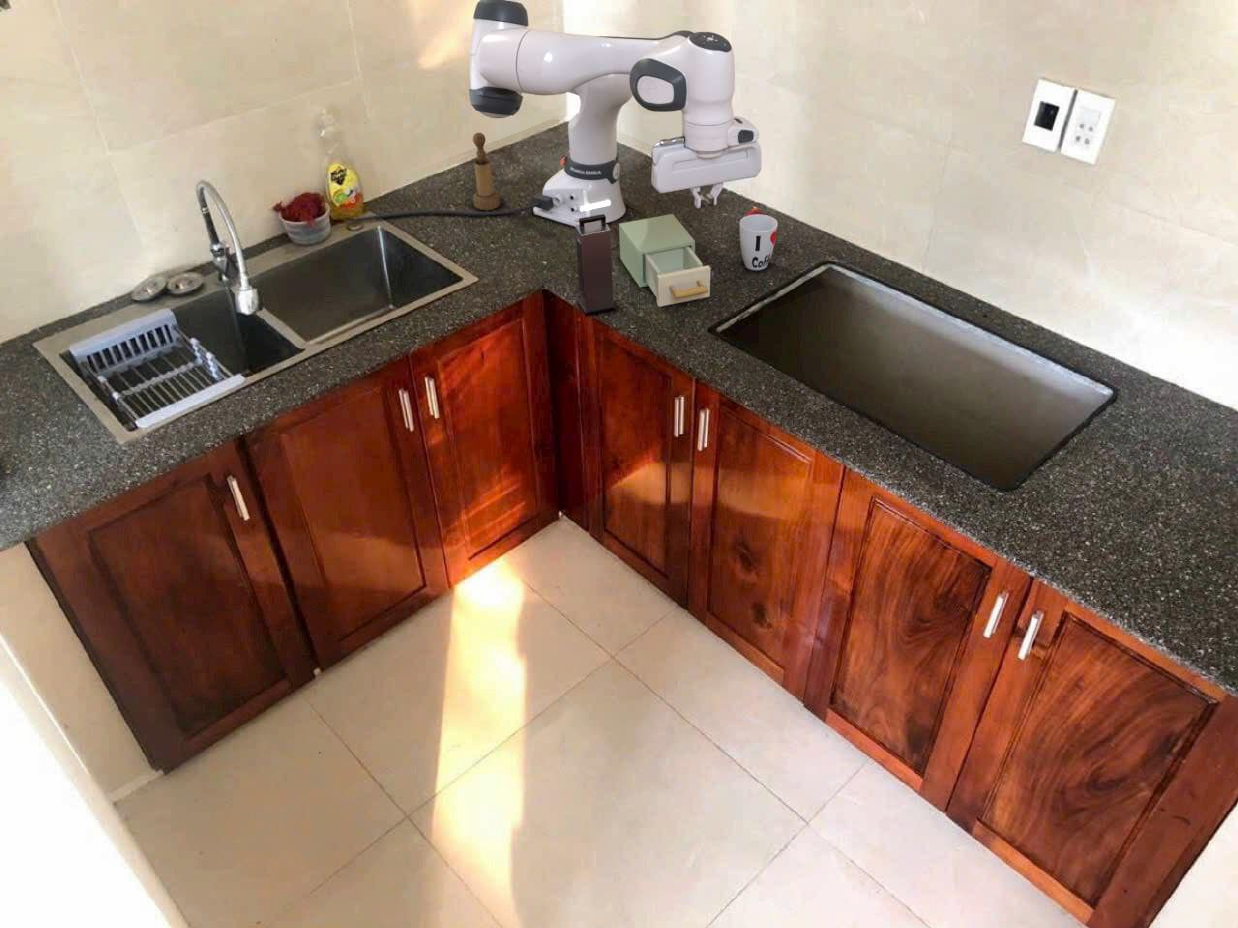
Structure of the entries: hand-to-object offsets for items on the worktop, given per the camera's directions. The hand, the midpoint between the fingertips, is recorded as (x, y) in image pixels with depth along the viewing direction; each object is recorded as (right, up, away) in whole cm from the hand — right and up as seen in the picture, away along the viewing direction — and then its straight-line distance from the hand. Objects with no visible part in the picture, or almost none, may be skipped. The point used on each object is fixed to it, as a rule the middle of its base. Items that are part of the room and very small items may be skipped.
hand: (705, 205), depth 183 cm
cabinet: (-8, -4, +37) cm, 38 cm away
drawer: (-4, -11, +27) cm, 30 cm away
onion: (+15, +4, +46) cm, 48 cm away
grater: (-21, -15, +25) cm, 36 cm away
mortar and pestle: (-49, +17, +64) cm, 82 cm away
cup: (+14, -4, +37) cm, 40 cm away
